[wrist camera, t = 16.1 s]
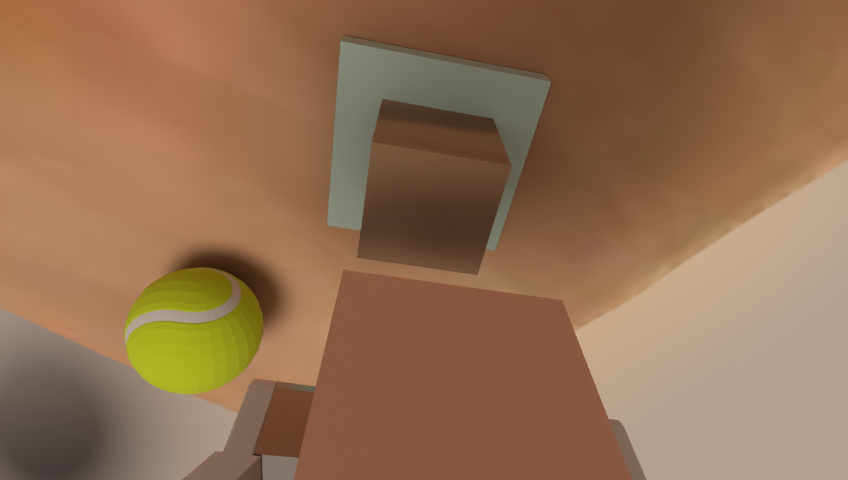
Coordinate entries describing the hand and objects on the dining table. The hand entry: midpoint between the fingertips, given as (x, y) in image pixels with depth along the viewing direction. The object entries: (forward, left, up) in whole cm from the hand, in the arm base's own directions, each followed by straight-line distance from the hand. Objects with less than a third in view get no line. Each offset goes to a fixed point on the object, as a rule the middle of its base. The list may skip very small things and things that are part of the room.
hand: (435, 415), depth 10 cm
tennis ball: (+11, -11, -15) cm, 21 cm away
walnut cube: (0, 0, -14) cm, 14 cm away
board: (0, 0, -15) cm, 15 cm away
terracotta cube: (0, 0, -2) cm, 2 cm away
